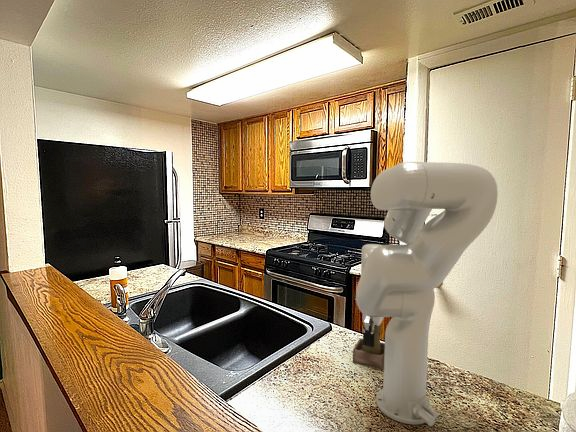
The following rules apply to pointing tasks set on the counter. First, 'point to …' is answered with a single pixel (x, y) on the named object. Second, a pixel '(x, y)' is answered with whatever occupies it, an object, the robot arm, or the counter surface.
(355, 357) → the shaker caddy
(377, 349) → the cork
